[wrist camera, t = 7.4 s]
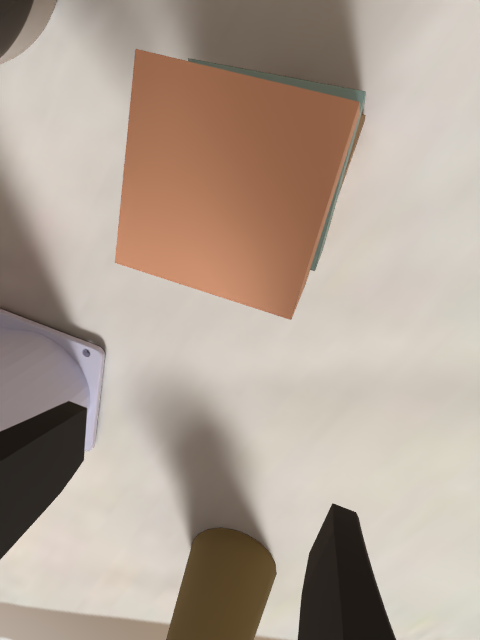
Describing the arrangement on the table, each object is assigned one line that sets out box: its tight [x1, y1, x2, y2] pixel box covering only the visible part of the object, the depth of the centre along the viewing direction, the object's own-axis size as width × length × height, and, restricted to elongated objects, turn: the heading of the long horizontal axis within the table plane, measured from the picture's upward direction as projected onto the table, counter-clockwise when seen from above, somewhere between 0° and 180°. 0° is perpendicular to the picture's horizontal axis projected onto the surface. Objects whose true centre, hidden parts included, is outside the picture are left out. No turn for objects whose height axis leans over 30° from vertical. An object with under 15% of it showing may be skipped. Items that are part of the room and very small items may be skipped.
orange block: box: [115, 49, 360, 320], centre depth 11 cm, size 5×5×3 cm
